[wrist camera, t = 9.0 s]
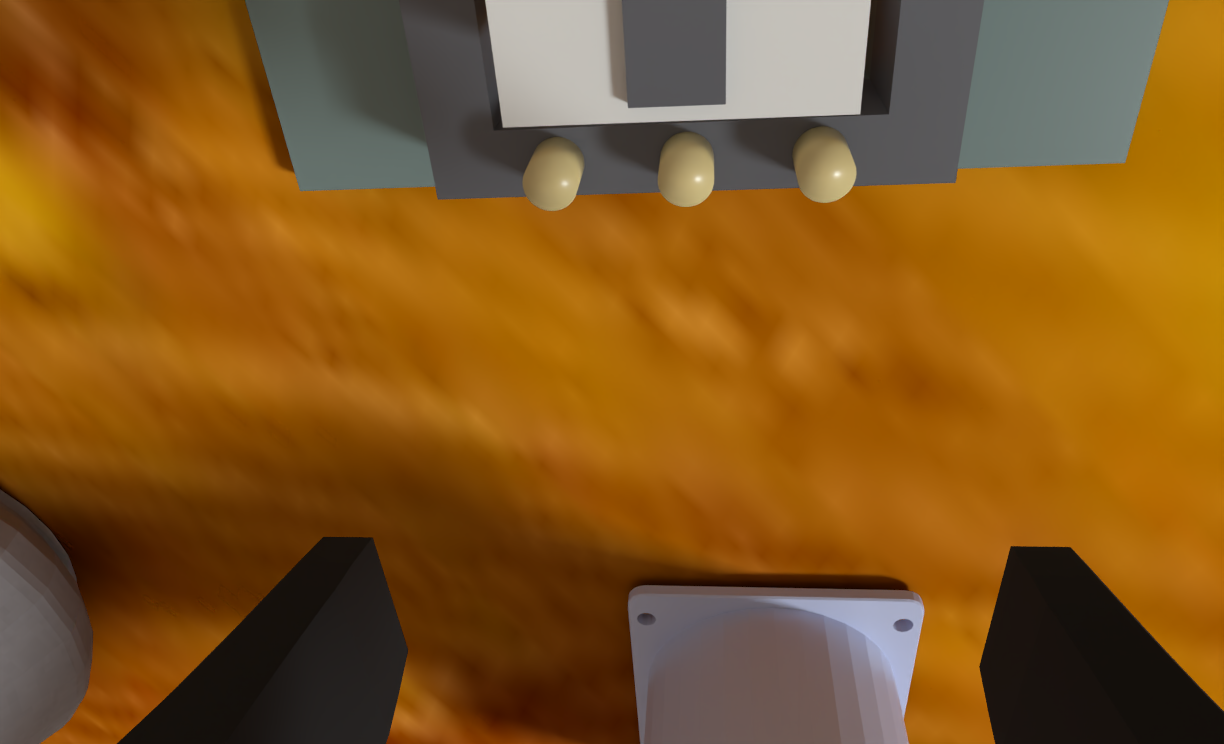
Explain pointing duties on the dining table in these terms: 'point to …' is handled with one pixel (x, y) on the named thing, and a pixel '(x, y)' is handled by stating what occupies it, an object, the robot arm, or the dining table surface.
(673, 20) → the plug
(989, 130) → the header socket
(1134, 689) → the robot arm
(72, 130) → the dining table surface
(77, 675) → the coffee pot
